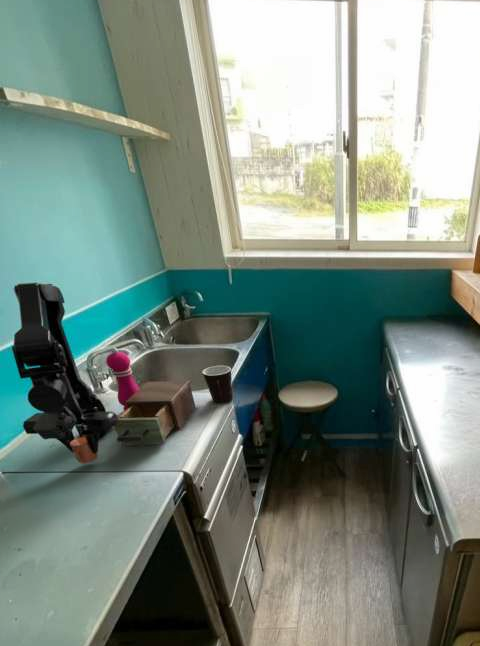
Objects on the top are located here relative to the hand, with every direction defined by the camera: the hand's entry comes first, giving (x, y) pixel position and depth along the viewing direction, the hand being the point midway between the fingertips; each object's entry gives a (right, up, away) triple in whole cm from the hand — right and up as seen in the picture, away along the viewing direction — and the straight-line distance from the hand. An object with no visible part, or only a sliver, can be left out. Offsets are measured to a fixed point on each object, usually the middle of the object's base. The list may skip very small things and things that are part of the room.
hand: (85, 453), depth 96 cm
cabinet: (+9, +11, +22) cm, 26 cm away
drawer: (+10, +5, +11) cm, 16 cm away
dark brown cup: (+22, +18, +32) cm, 43 cm away
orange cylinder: (0, -1, +1) cm, 2 cm away
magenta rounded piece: (-3, +14, +27) cm, 30 cm away
